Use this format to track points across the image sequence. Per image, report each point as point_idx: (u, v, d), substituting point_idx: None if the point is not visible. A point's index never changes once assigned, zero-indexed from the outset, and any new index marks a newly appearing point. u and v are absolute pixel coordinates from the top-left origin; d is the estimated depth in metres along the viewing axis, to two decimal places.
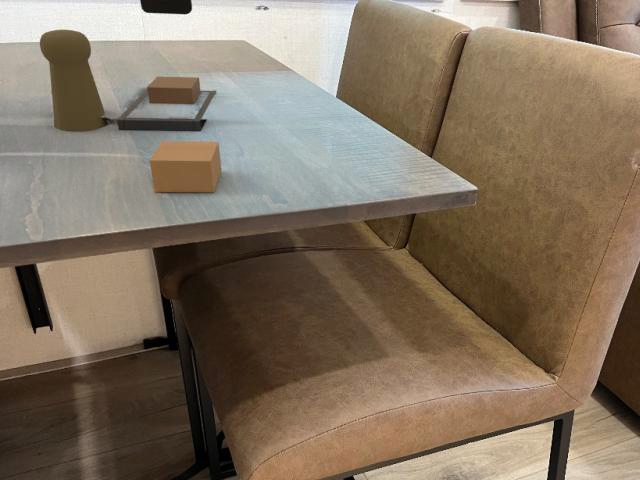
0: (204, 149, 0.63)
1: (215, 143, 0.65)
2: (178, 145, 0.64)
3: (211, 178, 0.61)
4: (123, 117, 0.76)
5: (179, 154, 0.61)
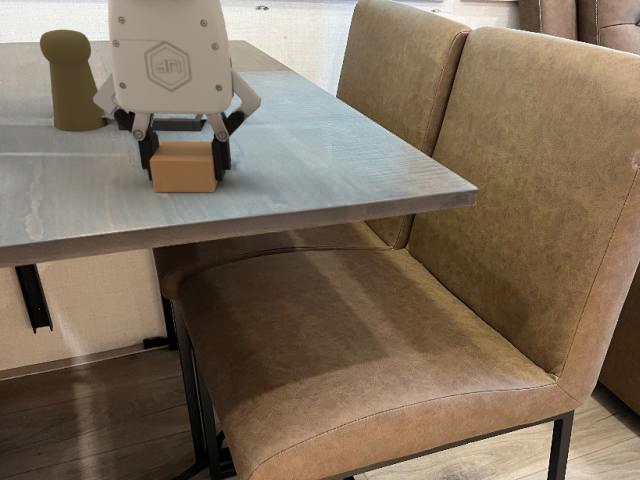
0: (204, 149, 0.63)
1: None
2: (178, 145, 0.64)
3: (211, 178, 0.61)
4: None
5: (179, 154, 0.61)
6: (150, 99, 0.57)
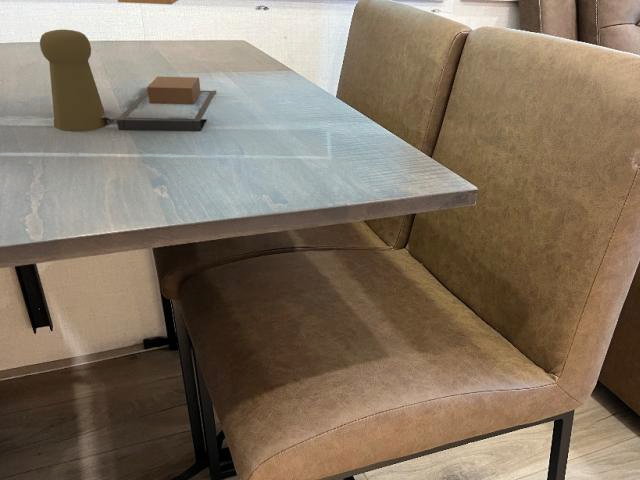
0: None
1: None
2: None
3: None
4: (123, 117, 0.76)
5: None
6: None
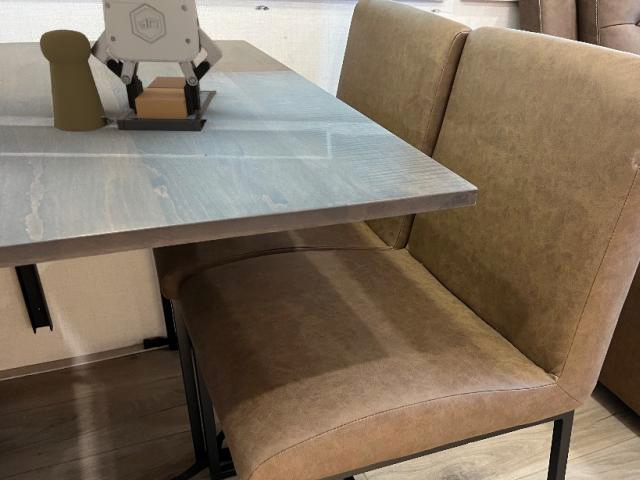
0: (179, 93, 0.79)
1: None
2: (158, 90, 0.80)
3: (184, 114, 0.77)
4: (123, 117, 0.76)
5: (158, 96, 0.77)
6: (135, 49, 0.73)
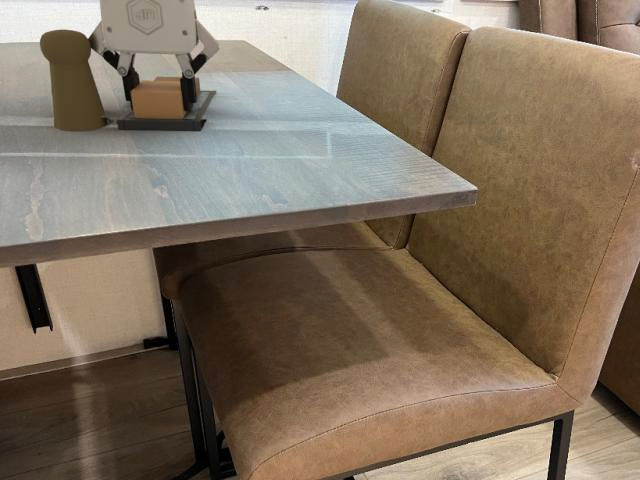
0: (175, 86, 0.79)
1: None
2: (154, 83, 0.79)
3: (180, 107, 0.77)
4: (123, 117, 0.76)
5: (154, 88, 0.77)
6: (131, 40, 0.73)
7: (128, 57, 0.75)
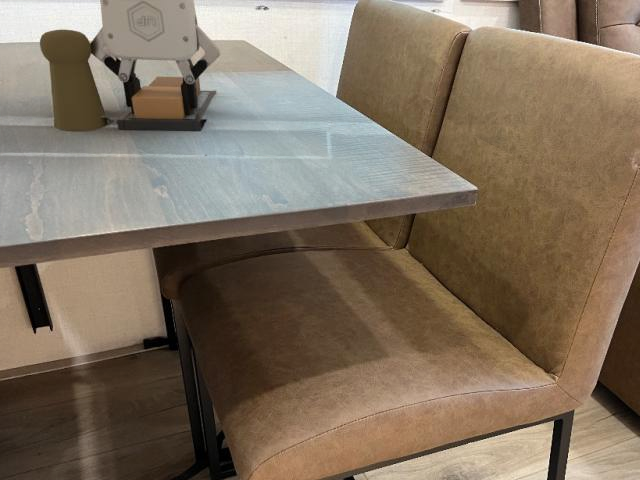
0: (176, 91, 0.79)
1: None
2: (155, 88, 0.80)
3: (180, 113, 0.77)
4: (123, 117, 0.76)
5: (155, 94, 0.77)
6: (132, 47, 0.73)
7: (129, 63, 0.75)
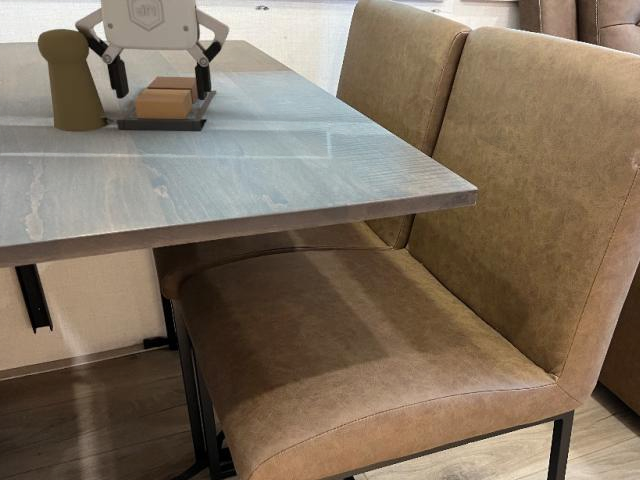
0: (178, 94, 0.79)
1: (187, 91, 0.81)
2: (158, 91, 0.80)
3: (183, 116, 0.77)
4: (123, 117, 0.76)
5: (157, 97, 0.78)
6: (132, 37, 0.72)
7: (118, 48, 0.74)
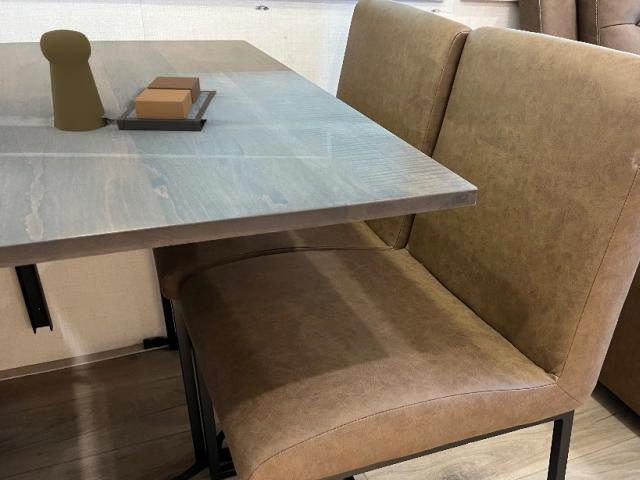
0: (178, 94, 0.79)
1: (187, 91, 0.81)
2: (158, 91, 0.80)
3: (183, 116, 0.77)
4: (123, 117, 0.76)
5: (157, 97, 0.78)
6: None
7: None
